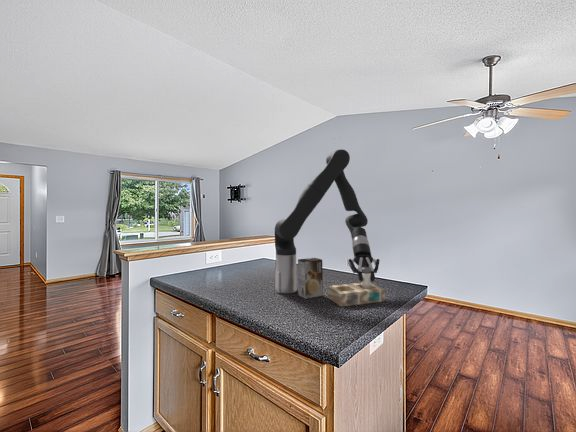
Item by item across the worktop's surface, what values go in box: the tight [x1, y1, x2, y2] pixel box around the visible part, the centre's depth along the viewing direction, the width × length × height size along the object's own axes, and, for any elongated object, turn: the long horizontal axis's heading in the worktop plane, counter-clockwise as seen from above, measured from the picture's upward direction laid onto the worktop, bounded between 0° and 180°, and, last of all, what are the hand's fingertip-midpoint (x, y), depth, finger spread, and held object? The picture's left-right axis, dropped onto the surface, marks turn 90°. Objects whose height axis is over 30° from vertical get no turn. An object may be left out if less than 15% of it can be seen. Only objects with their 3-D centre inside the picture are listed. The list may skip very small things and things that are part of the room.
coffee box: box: [297, 257, 324, 299], centre depth 126 cm, size 9×6×16 cm
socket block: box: [327, 282, 386, 307], centre depth 120 cm, size 20×12×5 cm, turn 107°
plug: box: [360, 267, 372, 289], centre depth 122 cm, size 4×4×10 cm
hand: (367, 280), depth 120 cm, fingers closed on plug, 4 cm apart
